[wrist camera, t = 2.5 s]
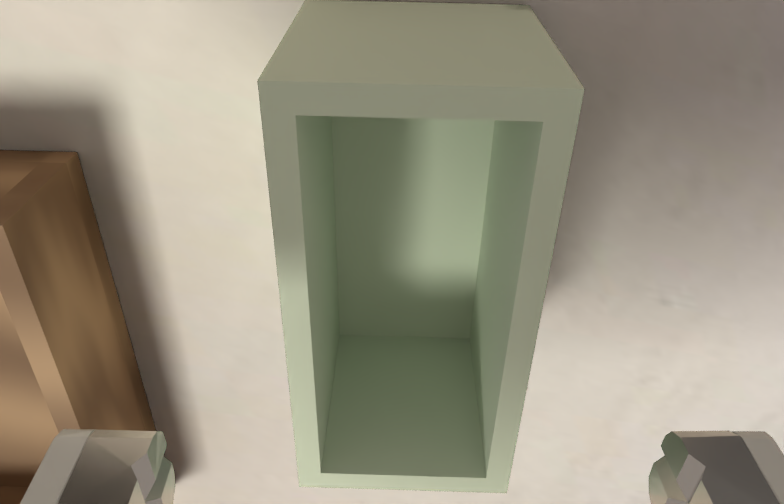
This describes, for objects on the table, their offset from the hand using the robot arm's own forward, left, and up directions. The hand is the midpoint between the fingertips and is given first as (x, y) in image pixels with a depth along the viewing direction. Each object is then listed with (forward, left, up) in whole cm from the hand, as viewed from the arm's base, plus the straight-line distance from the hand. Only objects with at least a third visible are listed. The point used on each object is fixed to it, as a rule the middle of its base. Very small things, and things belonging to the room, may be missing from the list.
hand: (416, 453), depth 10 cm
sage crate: (-1, 0, -10) cm, 10 cm away
